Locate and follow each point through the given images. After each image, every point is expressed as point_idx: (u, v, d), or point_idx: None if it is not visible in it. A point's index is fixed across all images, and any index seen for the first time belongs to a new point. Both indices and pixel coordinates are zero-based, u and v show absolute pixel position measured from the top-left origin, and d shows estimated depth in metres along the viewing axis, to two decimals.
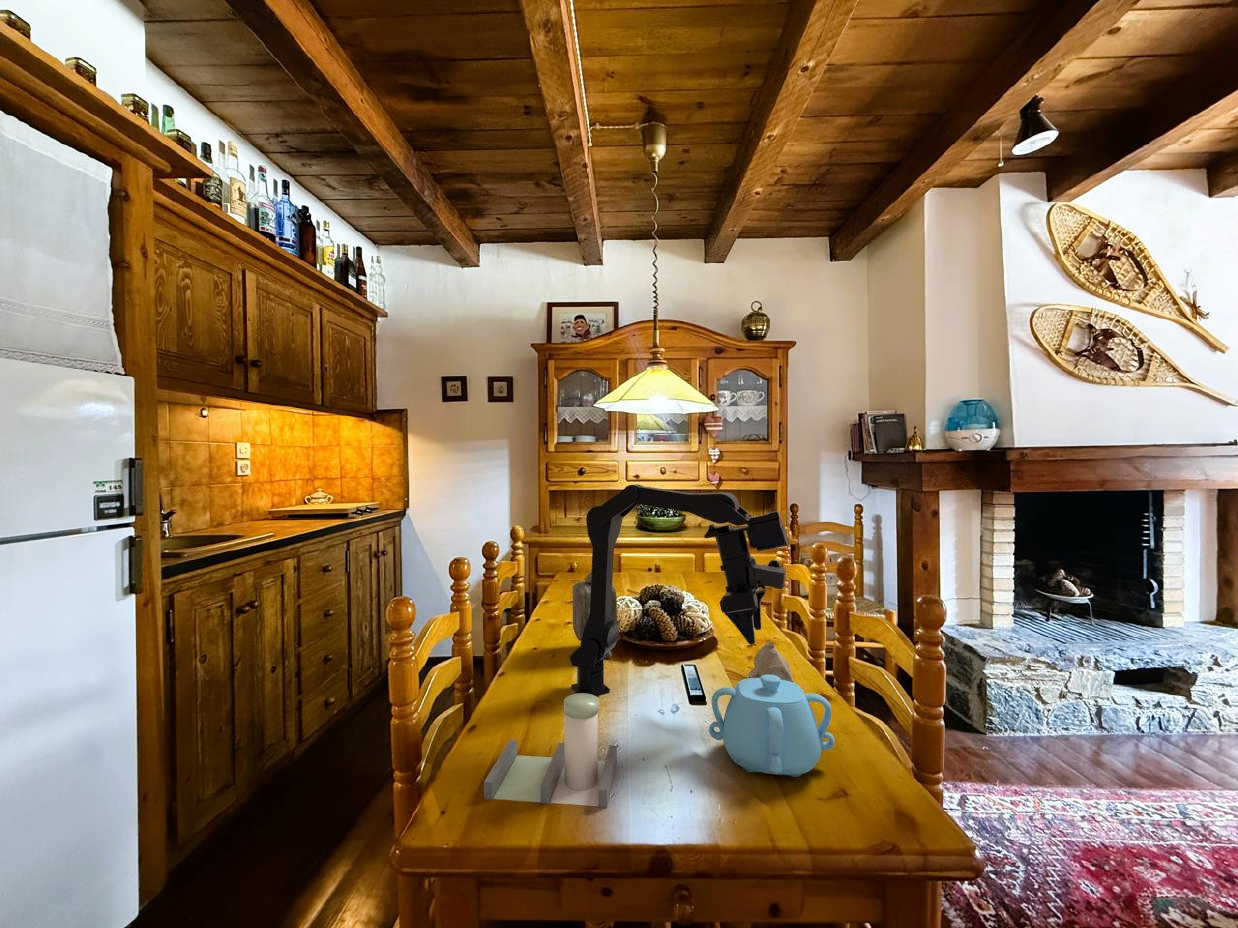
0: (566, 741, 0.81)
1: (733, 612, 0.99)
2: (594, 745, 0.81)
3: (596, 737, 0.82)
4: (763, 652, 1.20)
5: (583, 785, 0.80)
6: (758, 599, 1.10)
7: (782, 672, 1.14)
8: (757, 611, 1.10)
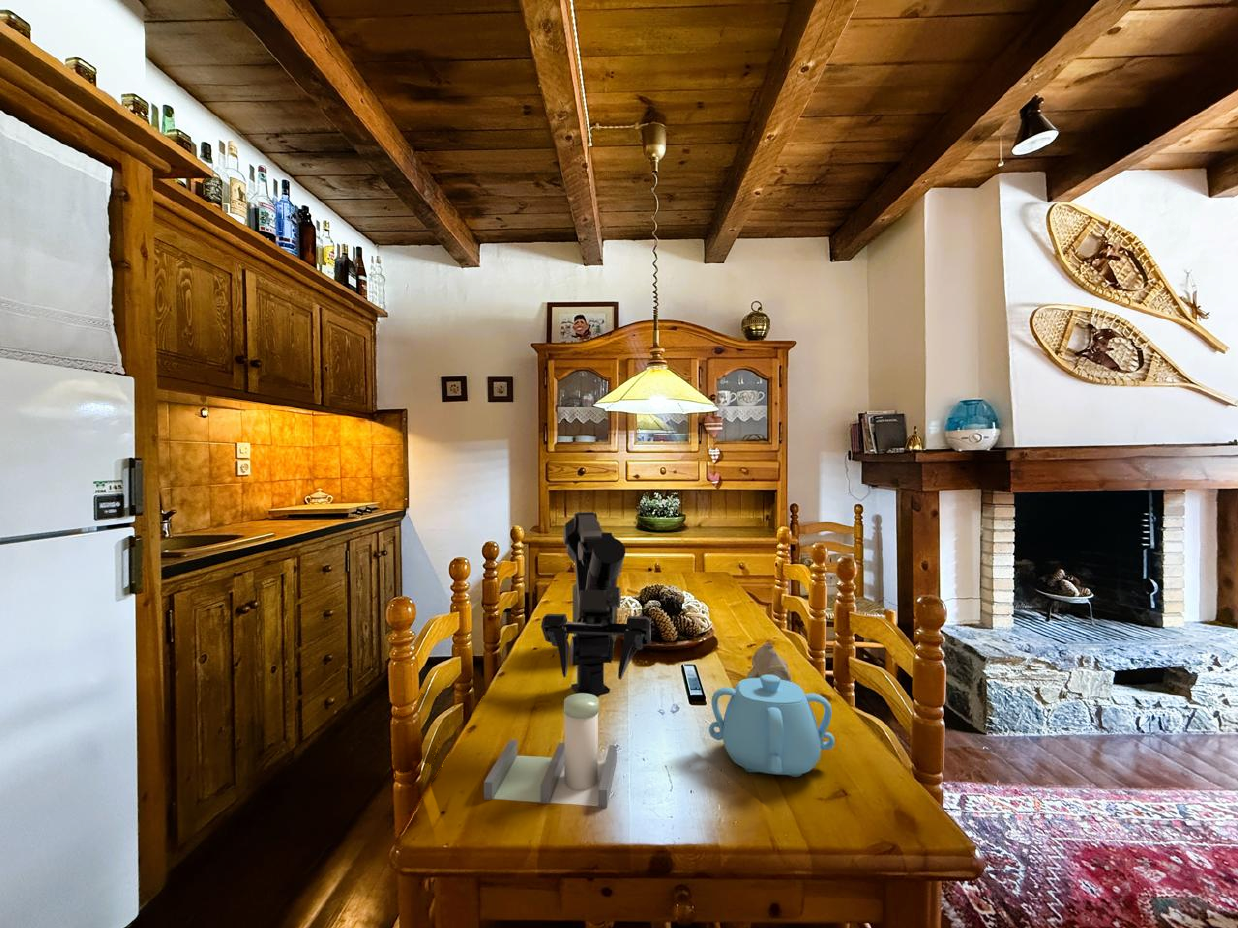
0: (566, 741, 0.81)
1: None
2: (594, 745, 0.81)
3: (596, 737, 0.82)
4: (762, 652, 1.20)
5: (583, 785, 0.80)
6: None
7: (781, 672, 1.14)
8: None
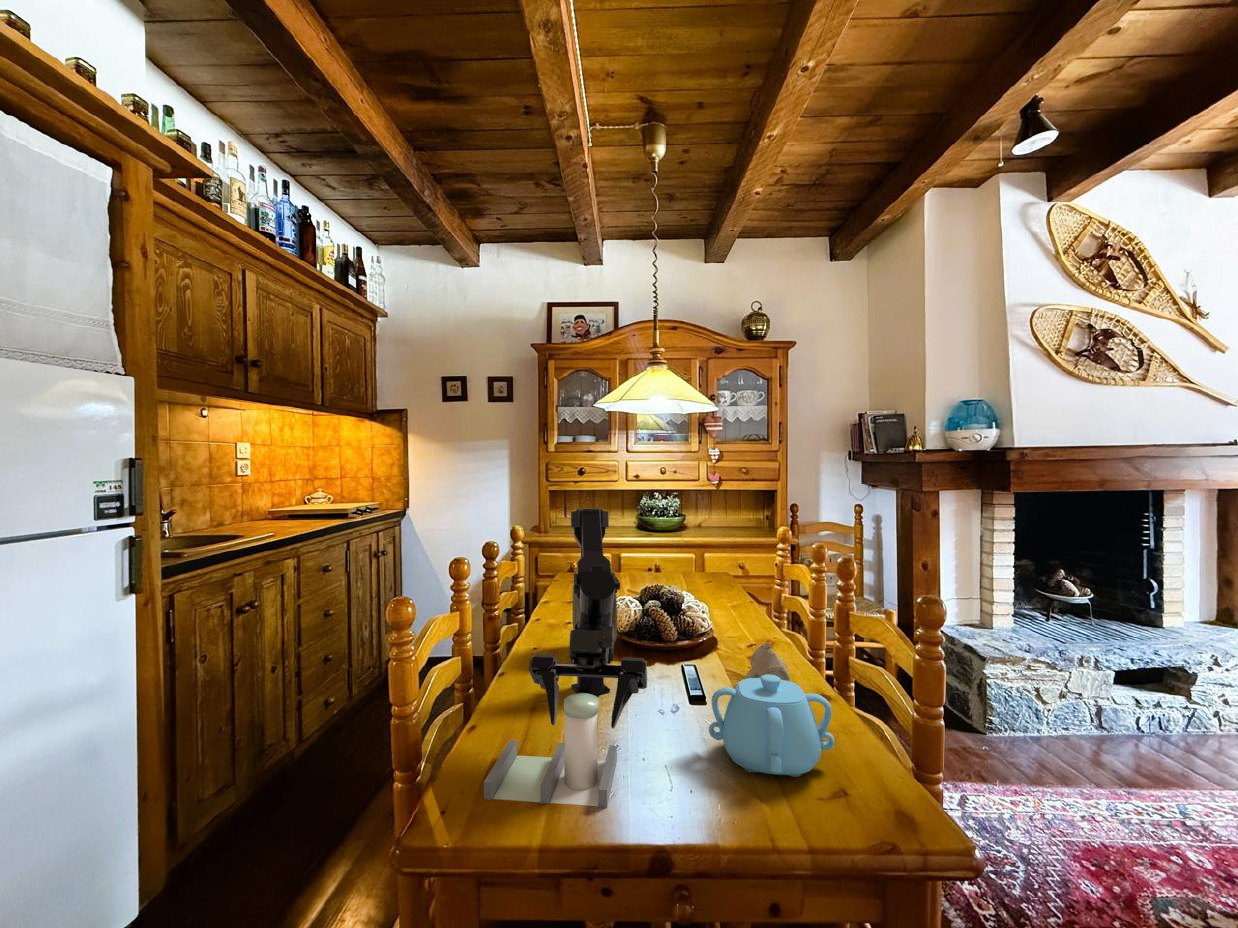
0: (566, 741, 0.81)
1: None
2: (594, 745, 0.81)
3: (596, 737, 0.82)
4: (760, 653, 1.19)
5: (583, 785, 0.80)
6: None
7: (780, 672, 1.14)
8: None
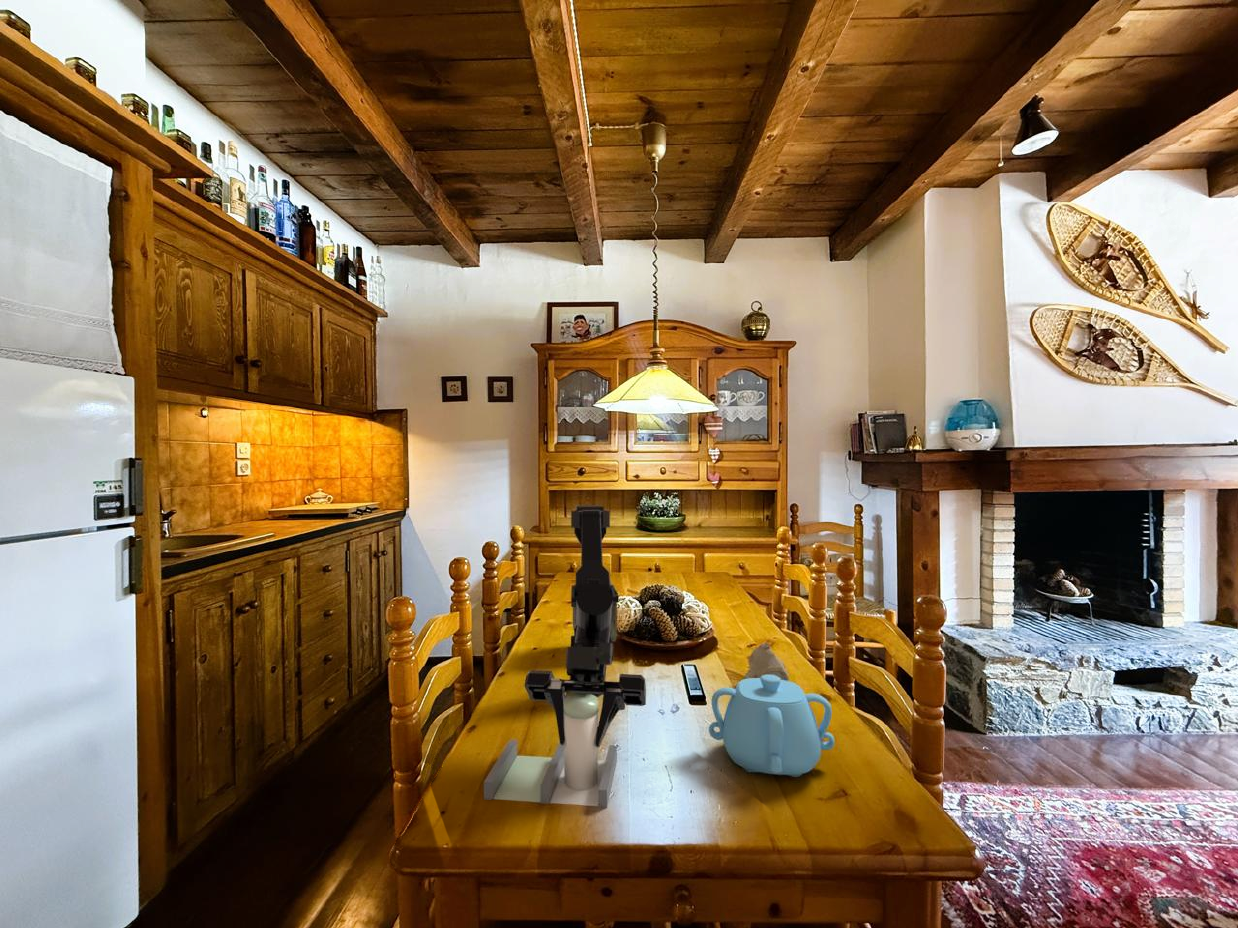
0: (566, 741, 0.81)
1: None
2: (594, 745, 0.81)
3: None
4: (759, 653, 1.19)
5: (583, 785, 0.80)
6: None
7: (779, 673, 1.14)
8: None
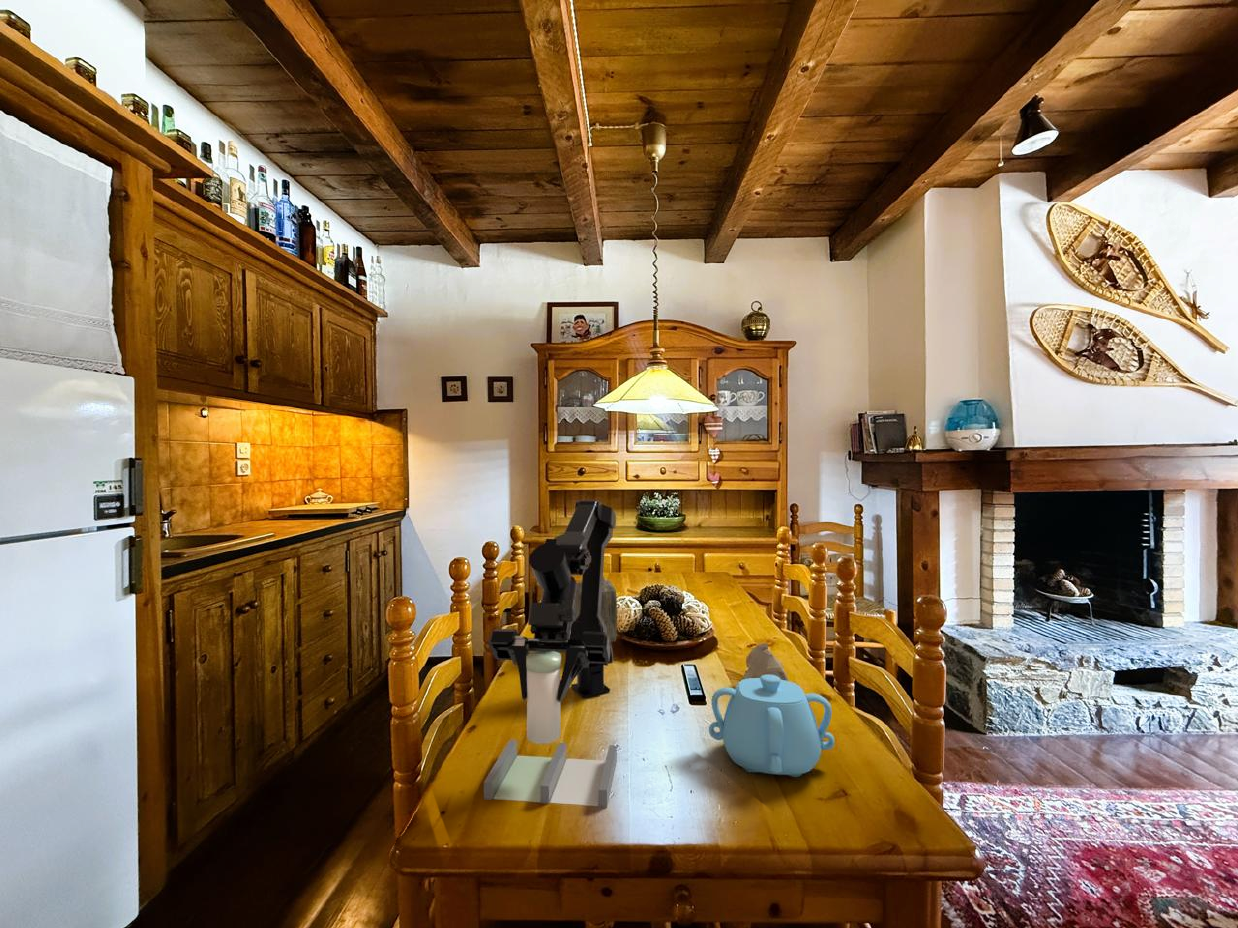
0: (528, 696, 0.82)
1: None
2: (556, 700, 0.82)
3: None
4: (757, 653, 1.19)
5: (545, 739, 0.81)
6: None
7: (778, 673, 1.14)
8: None
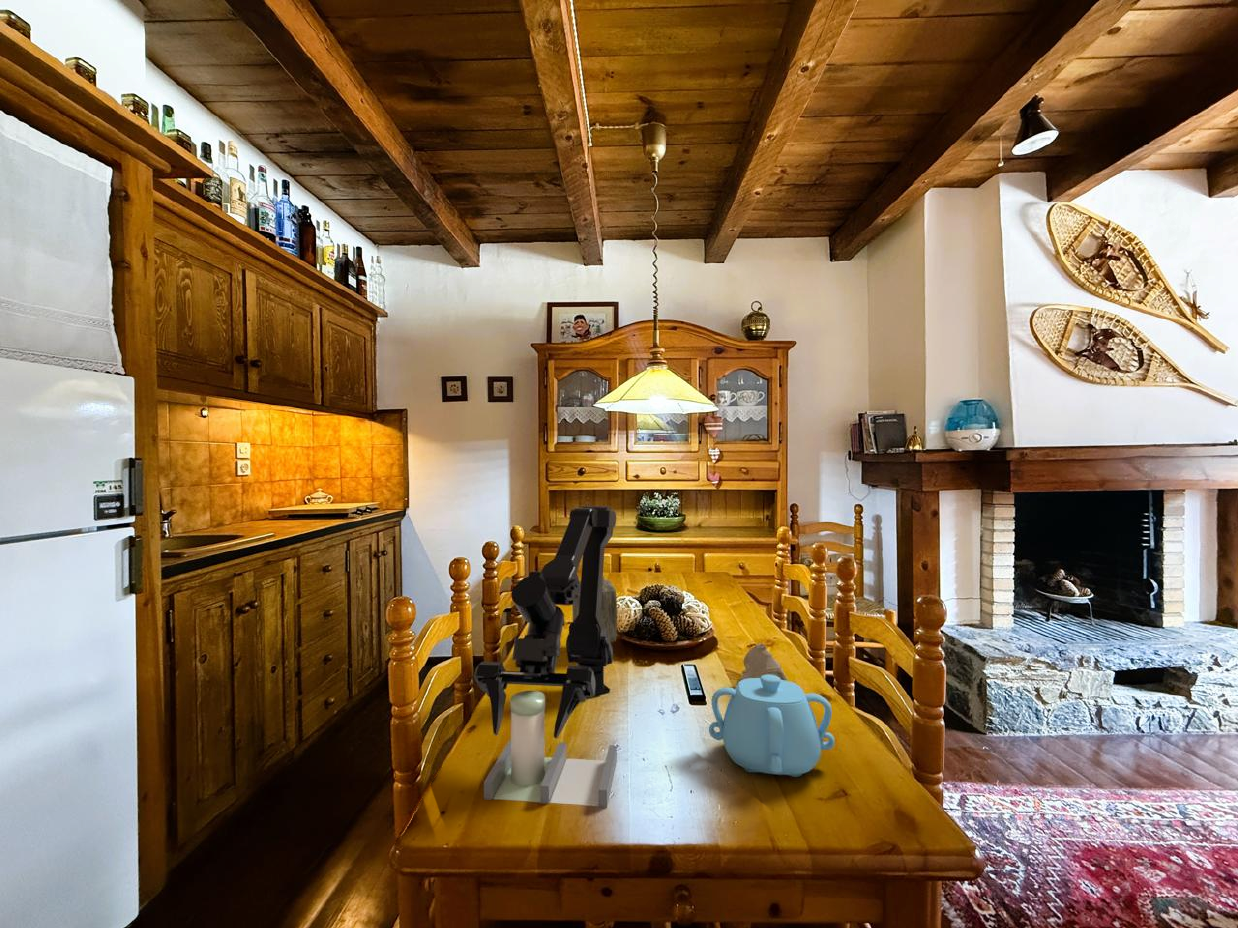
0: (512, 738, 0.82)
1: None
2: (539, 742, 0.82)
3: (542, 734, 0.83)
4: (755, 654, 1.18)
5: (528, 781, 0.81)
6: None
7: (777, 673, 1.14)
8: None
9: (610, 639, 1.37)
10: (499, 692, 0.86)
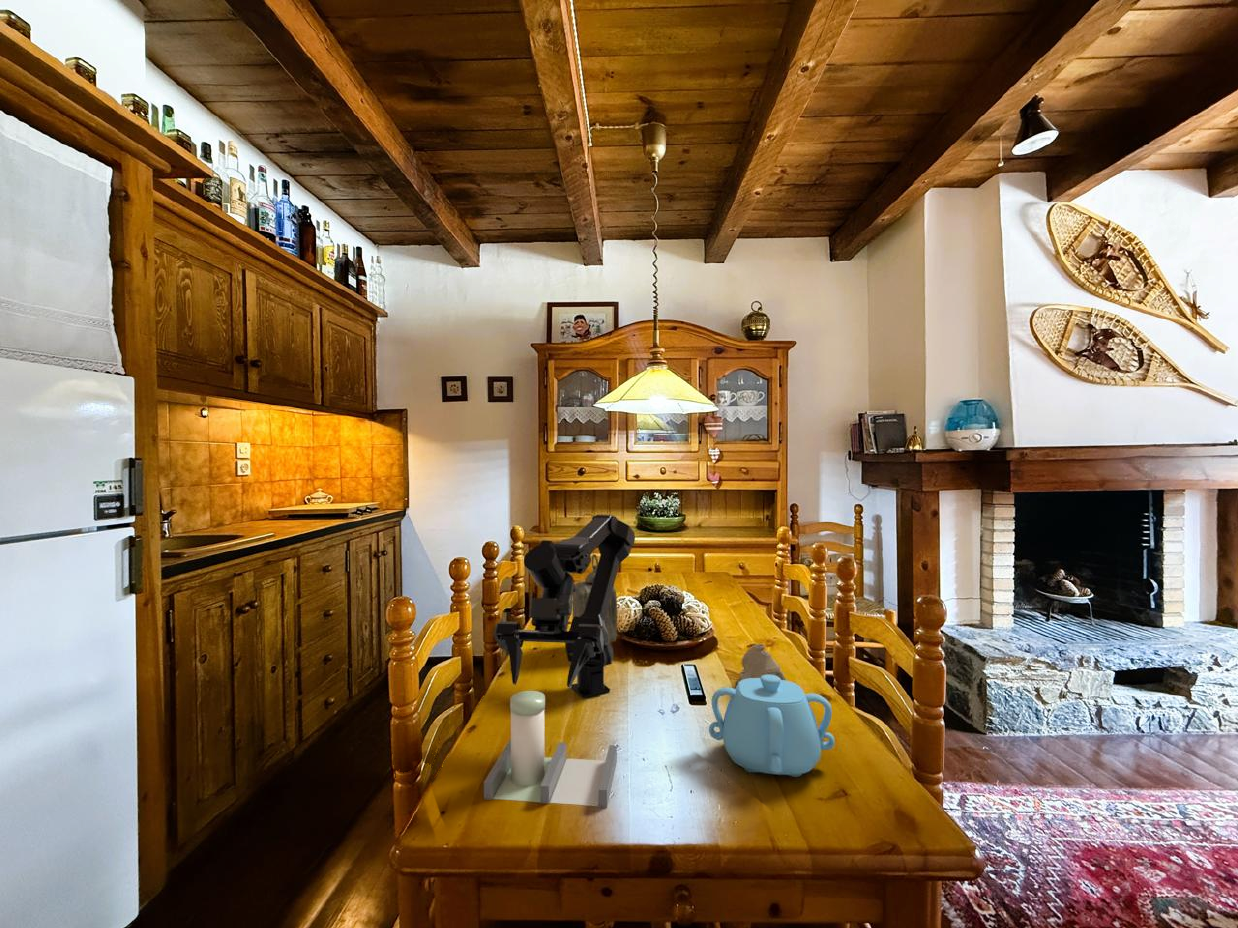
0: (512, 738, 0.82)
1: None
2: (539, 742, 0.82)
3: (542, 734, 0.83)
4: (753, 655, 1.18)
5: (528, 781, 0.81)
6: None
7: (776, 674, 1.14)
8: None
9: (610, 639, 1.37)
10: (517, 647, 0.95)
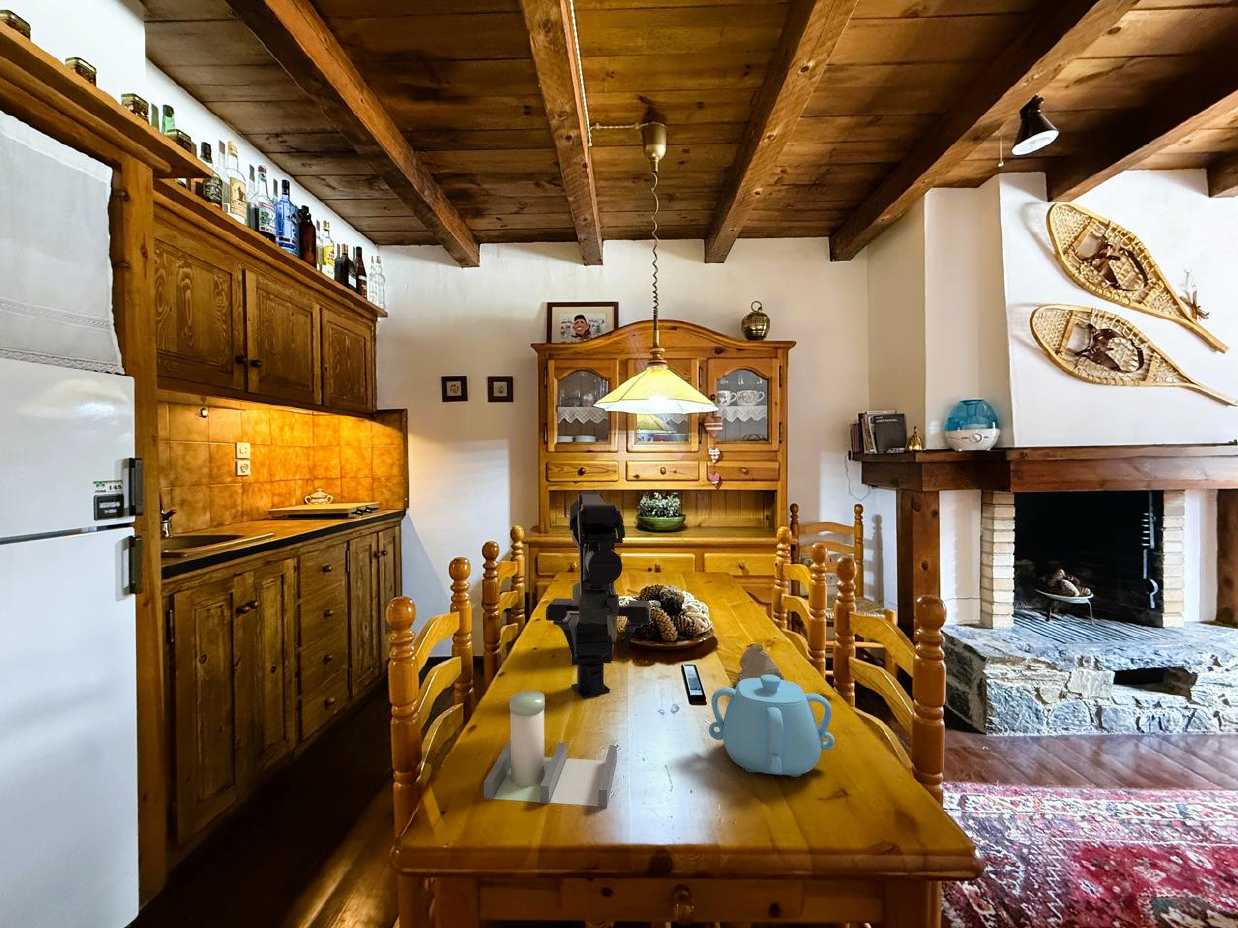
0: (512, 738, 0.82)
1: None
2: (539, 742, 0.82)
3: (542, 734, 0.83)
4: (752, 655, 1.18)
5: (528, 781, 0.81)
6: (625, 629, 0.99)
7: (775, 674, 1.13)
8: None
9: None
10: (570, 627, 1.01)
